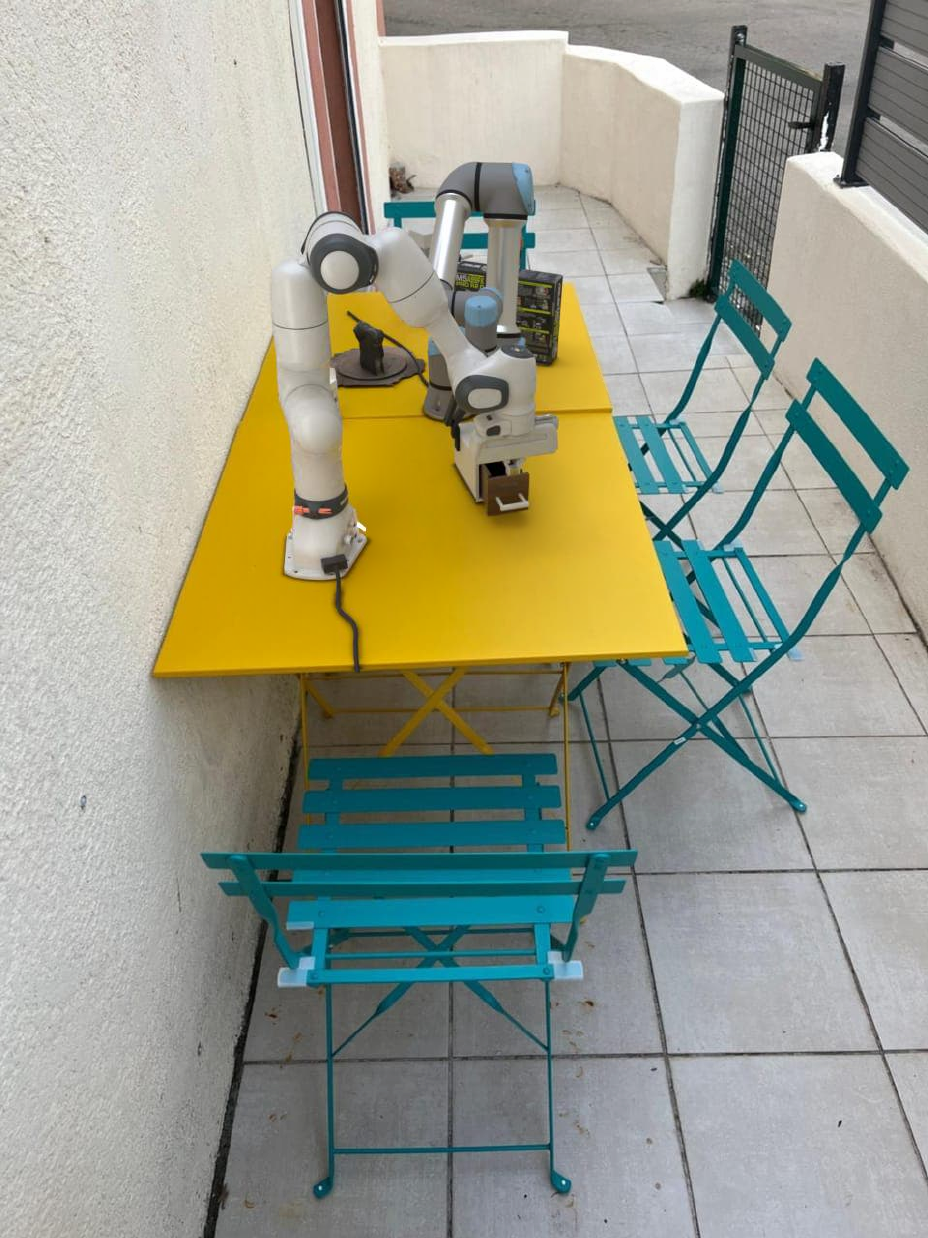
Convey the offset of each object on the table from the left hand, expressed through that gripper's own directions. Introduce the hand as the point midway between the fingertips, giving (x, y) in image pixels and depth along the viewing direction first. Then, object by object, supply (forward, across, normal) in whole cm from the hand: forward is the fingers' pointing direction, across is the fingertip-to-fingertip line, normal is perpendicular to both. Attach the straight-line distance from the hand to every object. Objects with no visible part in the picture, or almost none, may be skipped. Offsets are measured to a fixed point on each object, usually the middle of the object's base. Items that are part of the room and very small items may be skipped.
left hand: (512, 473), depth 203 cm
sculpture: (+14, +16, -95) cm, 97 cm away
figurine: (+14, -45, -134) cm, 142 cm away
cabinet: (+14, 0, -20) cm, 25 cm away
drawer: (+12, 0, -9) cm, 15 cm away
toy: (+14, -12, -127) cm, 128 cm away
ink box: (+14, +35, -66) cm, 76 cm away
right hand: (+6, 0, -26) cm, 27 cm away
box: (+14, -28, -92) cm, 98 cm away
